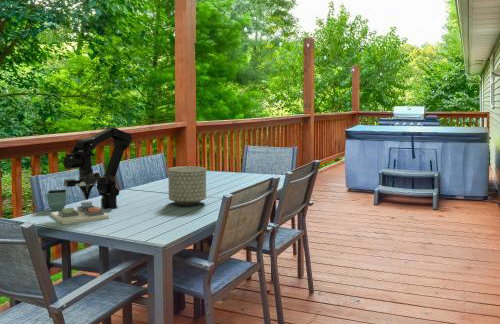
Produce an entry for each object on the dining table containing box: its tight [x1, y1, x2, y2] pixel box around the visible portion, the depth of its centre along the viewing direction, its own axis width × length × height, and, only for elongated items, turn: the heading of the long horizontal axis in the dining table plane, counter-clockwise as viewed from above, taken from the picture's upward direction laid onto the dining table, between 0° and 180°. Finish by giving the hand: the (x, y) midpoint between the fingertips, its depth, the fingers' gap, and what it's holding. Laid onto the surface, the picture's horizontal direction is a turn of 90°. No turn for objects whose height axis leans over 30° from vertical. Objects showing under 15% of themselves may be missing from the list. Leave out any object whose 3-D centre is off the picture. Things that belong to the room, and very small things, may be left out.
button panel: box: [50, 204, 110, 225], centre depth 230 cm, size 20×20×3 cm
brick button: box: [88, 206, 100, 213], centre depth 229 cm, size 5×5×2 cm
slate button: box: [80, 200, 93, 209], centre depth 237 cm, size 5×5×2 cm
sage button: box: [61, 207, 74, 214], centre depth 227 cm, size 5×5×2 cm
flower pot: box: [46, 189, 68, 212], centre depth 245 cm, size 9×9×9 cm
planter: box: [167, 165, 207, 206], centre depth 258 cm, size 19×19×18 cm
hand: (86, 199), depth 237 cm, fingers closed
